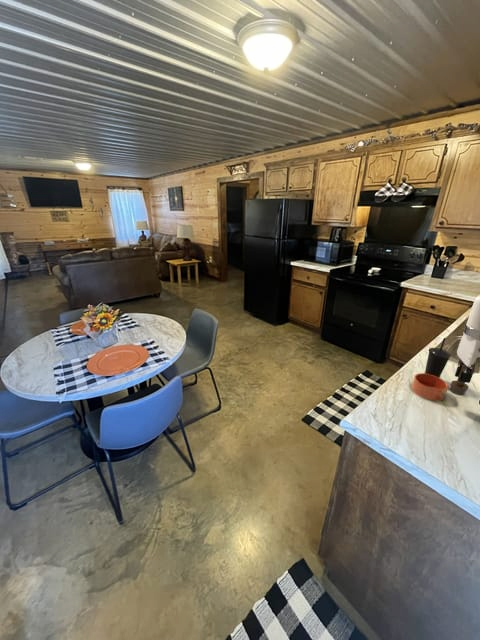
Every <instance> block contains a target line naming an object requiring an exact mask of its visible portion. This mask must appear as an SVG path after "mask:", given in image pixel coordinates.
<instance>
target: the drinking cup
mask: <svg viewBox="0 0 480 640" xmlns="http://www.w3.org/2000/svg"><path fill="white" fill-rule="evenodd" d="M446 339H447V338H446V337H443V339H442V342H441V345H440V347H430V348H429V349H428V355H427V360H426V365H425V370H424V373H425V374H430V375H434V376H436V377H439V378H440V377H441V375H442V373H443V371H444V369H445V368H446V366H447V364H448V362H449V360H450V359H451V357H452V353H451V352H449V351H448V350H446V349H444V345H445V342H446Z"/></svg>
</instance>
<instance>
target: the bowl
mask: <svg viewBox="0 0 480 640" xmlns="http://www.w3.org/2000/svg"><path fill="white" fill-rule="evenodd" d="M448 389H449V384H448V383H447V382H446V381H445V380H444V379H443V378H440V377H436V376H434V375H430V374H425V372H423V373H421V372H420V373H416V374H415V375H414V378H413V380H412V384H411V390H412V391H413V392H414V393H415V394H416V395H418V396H419V397H421V398H423V399H426V400H430V401H434V402H435V401H437V402H438V401H443V400H444V399H445V397H446V395H447V392H448Z"/></svg>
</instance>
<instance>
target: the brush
mask: <svg viewBox="0 0 480 640" xmlns="http://www.w3.org/2000/svg"><path fill="white" fill-rule="evenodd" d="M464 366H465V364H463V365H462V368H461V371H463V369H464ZM469 368H472V367H468V369H469ZM461 371H460V374H461ZM460 374H459V376H460ZM456 379H457V380H451V381H450V382H451V383H450V387H449V391H450V393H452V394H454V395H456V396H459V397H460V396H461V397H463V396H465V395H466V393H467V391H468V390H469V385H468V383H466V382H459V381H458V379H459V377H457V378H456Z"/></svg>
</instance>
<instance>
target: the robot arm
mask: <svg viewBox="0 0 480 640" xmlns="http://www.w3.org/2000/svg"><path fill="white" fill-rule="evenodd" d="M456 355H457V357H458V362H457V367H456V370H455V373H454V377H455V378H457V379H458V377H459V379H458V381H459V382H465V384H469V383H471V380H472V378H473V375H475V374H480V294H479V295H478V296H476V297H475V298H474V300H473V304H472V306H471V309H470V312H469V315H468V318H467V321H466V324H465V327H464V330H463V335H462V337H461V339H460V341H459V344H458V348H457V349H456ZM463 364H465V366H464V369H463V371H461V368H462V365H463ZM468 367H471V368H469V369H468ZM460 371H461V374H460ZM459 374H460V376H459Z"/></svg>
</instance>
